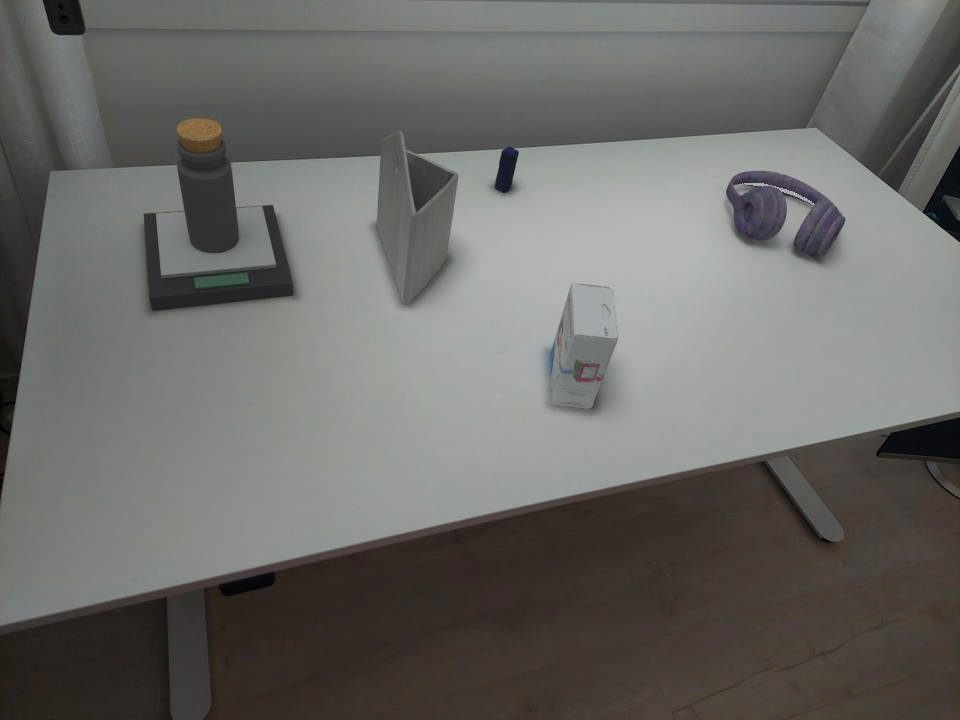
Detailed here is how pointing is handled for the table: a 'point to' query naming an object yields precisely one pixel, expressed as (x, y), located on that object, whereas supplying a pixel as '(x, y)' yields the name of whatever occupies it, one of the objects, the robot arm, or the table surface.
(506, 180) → the eraser
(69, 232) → the table surface
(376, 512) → the table surface
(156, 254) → the scale
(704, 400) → the table surface
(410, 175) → the planter
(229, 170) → the bottle
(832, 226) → the headphones
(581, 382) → the ink box
